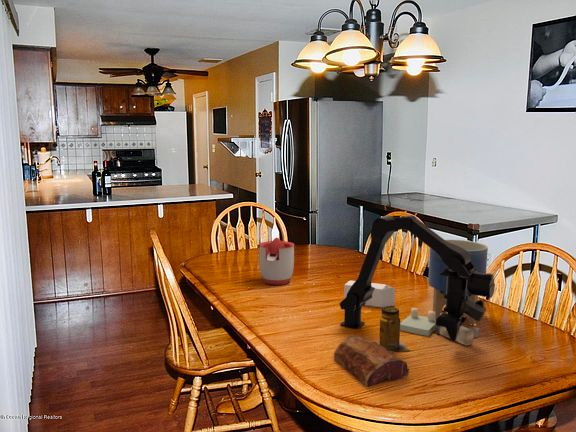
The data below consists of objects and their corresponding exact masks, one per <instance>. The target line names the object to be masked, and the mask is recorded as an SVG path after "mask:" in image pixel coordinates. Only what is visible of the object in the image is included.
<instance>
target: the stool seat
mask: <svg viewBox="0 0 576 432" xmlns="http://www.w3.org/2000/svg"><path fill="white" fill-rule="evenodd" d="M410 309H411V310H410V315H409V316H407V317H406V318H404V320H402V321H400V332H401V331H402V332H406V333H410V334H411V333H412V334H416V335H420V336H425V337H429V336H431V334H432V333H433V332H435V320H436V319H435V314H436V312H434V311H433V310H428V312H427V314H428V315H427V316H423V315H419V308H417V307H411V308H410Z"/></svg>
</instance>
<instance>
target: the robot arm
mask: <svg viewBox="0 0 576 432" xmlns="http://www.w3.org/2000/svg"><path fill="white" fill-rule="evenodd" d="M371 223H372V224H371V228H370V232H369V233H370V243H369V246H368V249H367V251H366V255H365V257H364V261H363V263H362V265H361V268H360V271H359V274H358V276H357V278H356V280H354V281H355V282H354V284H353V285H352V286H351V288H350V289H349V291H348V293H347V296H346V298H345V299H344V298H343V299H342V300H341V301H340V302H339V307H340V309H341V310H343V311H344V312H343V313H344V315H343V318H344V319H343V321H342V322H341V323H340V324H339V325H340V326H343V327H348V328H351V329H359V328H360V327H362V326H364V324H365V323H366V322H365V321H362V307H363V306H366V305H365V303H366V302H367V301H368V300H369V299H371V298H372V294H373V292H374V290H375V288H374V287H372V285H371V283H372V280H373V277H374V274H375V272H376V270H377V267H378V264H379V261H380V260H381V259H380V258H381V257H382V253H383V250H384V248H385V246H386V244H387V243H388V242H389V240H390V239H391V238H392V236H394V235H393V234H394V233H395V231H401V230H407V231H408V232H409V233H410V234H412V235H413V236H414V237H416V238H417V239H419V240H420V241H421V242H422V243H424V244H425V245H426V246H428V247H429V249H430V248H431V249H432V250H434V251H435V252H436V253H437V254H438V255H439V257H440V259H441V261H442V262H443V263H444V264H445V265H446V266H447V268H445V270H444V271H443V272H441V273H440V275H443V276H447V289H446V294H445V295H444V298H445V299H446V304H445V305H444V307H443V308H442V311H443V312H441V313H440V315H439V316H438V317H437V318H436V325H437V326H442V327H445V328H446V330H447V332H448V334H449V337H450V338H449V339H450V341H451V342H453V343H454V342H455V343H456V342H457V341H456V338H457V335H458V332H459V329H460V326H463V324H464V323H465V322H466V321H467V320H468V316H470V317H471V318H473V319H474V320H476V322H481V320H482V319H483V317H484V316H485V314H486V312H487V307H486V306H485V300H482V299H478V301H477V302H475V301H473V302H472V301H470V300H469V296H468V294H466V291H467V290H468V292H470V293H471V294H472V295H478V297H485V298H489V299H492V298H493V296H494V293H495V288H496V284H495V279H494V274H493V273H487V272H486V273H479V272H477V269H476V268H475V266H474V265H473V263H472V261H471V258H470V254H469V252H468V251H466V250H465V249H463V248H461V247H459V246H457V245H454V244H452V243H449V242H447V241H445V240H446V239H444V238H443V237H442V236H441V235H439V234H438V233H437V232H435V231H434V230H432V229H431V228H430V227H428V226H427V225H426V224H424V223H423V222H421V221H420V220H419V219H418V218H417V216H415V215H413V214H410V215H406V216H396V217H393V216H392V215H383V216H381V217H380V216H379V217H376V218H375V219H374V220H373V221H372V222H371ZM467 279H468V282H467ZM465 315H466V316H467V317H466V316H465Z"/></svg>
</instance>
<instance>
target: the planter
mask: <svg viewBox="0 0 576 432" xmlns="http://www.w3.org/2000/svg"><path fill="white" fill-rule="evenodd" d="M444 240H445V241H447V242H449V243H452V244H454V245H457V246H459V247H461V248H463V249H465V250H466V251H468V252H469V254H470V258H471V261H472V263H473V265H474V266H475V268H476V269H477V272H479V273H487V268H488V267H487V266H488V249H489V247H488V246H487V245H486V244H484V243H482V242H477V241H470V240H465V239H464V240H462V239H444ZM428 261H429V262H428V263H429V264H428V280H427V281H428V285H429V286H430V287H431V288H433V295H432V297H433V298H432V299H433V300H432V311H434V312H436V314H435V319H436V318H437V317H438V316H439V315H441V314H442V311H443V309H444V307H445V306H446V299H445V298H444V295H445V294H446V289H447V276H443V275H440V273H441V272H443V271H444V270H445V268H447V266H446V265H445V264H444V263H443V262H442V261H441V259H440V257H439V255H438V254H437V253H436V252H435V251H434V250H432V249H431V248H430V247H429V259H428ZM467 282H468V279H467ZM466 294H468V296H469V300H470V301H472V302H473V301H475V302H477V301H478V300H479V298H478V297H479V296H478V295H472V294H471V293H470V292H468V290H467V291H466ZM467 318H468V324H469V323H470V324H472V325H474V324H476V325H477V321H476V320H474V319H473V318H471V317H470V316H468V315H467ZM470 324H469V325H470ZM472 325H471V326H472Z"/></svg>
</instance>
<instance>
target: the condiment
mask: <svg viewBox="0 0 576 432" xmlns="http://www.w3.org/2000/svg"><path fill="white" fill-rule="evenodd" d="M400 323H401V318H400V310H399V309H398V308H396V307H394V306H388V307H382V309H381V316H380V317H379V338H378V339H379V340H378V341H379V342H376V343H377V344H379V345H381V346H383V347H385V348H386V349H387V350H389V351H390V352H391V353H393V352H405V351H410V349H409V348H408V347H407V346H406V345H405V344H404V342H402V340H401V341H400V337H401V336H400V334H401V333H400V332H401V330H400Z"/></svg>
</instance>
